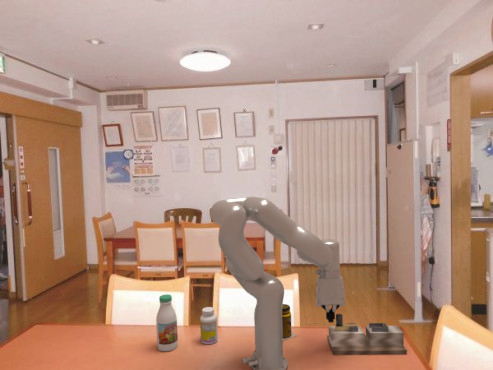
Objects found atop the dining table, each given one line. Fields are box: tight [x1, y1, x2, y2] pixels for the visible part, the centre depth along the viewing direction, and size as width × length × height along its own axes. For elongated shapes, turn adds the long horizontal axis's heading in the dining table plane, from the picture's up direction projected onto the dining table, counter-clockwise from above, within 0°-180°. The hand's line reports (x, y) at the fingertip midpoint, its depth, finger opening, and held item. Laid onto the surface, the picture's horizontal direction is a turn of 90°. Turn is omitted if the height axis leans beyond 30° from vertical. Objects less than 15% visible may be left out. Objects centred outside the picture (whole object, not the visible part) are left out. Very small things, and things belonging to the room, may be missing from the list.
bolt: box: [334, 313, 359, 330], centre depth 141 cm, size 8×2×6 cm, turn 87°
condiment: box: [282, 303, 297, 341], centre depth 151 cm, size 7×8×12 cm
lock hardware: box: [347, 322, 389, 332], centre depth 140 cm, size 14×4×2 cm, turn 88°
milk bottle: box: [155, 293, 179, 352], centre depth 144 cm, size 8×8×20 cm
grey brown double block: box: [326, 325, 408, 356], centre depth 141 cm, size 26×12×6 cm, turn 87°
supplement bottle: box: [199, 306, 219, 345], centre depth 148 cm, size 7×7×13 cm
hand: (330, 321), depth 141 cm, fingers closed
